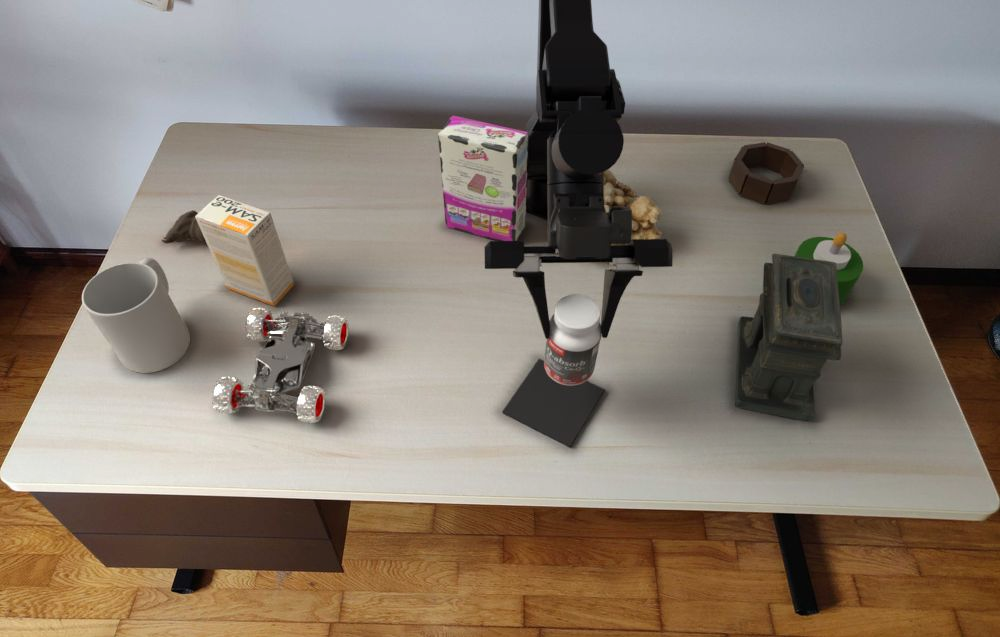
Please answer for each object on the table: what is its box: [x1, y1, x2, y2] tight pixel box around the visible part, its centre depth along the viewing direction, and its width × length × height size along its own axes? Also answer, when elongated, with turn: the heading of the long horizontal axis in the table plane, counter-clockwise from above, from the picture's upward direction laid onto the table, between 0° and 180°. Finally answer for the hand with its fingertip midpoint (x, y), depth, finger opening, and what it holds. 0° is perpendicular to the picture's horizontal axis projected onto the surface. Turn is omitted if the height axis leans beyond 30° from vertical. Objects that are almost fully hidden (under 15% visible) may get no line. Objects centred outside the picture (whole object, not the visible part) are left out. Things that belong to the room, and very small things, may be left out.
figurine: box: [161, 209, 207, 244], centre depth 99 cm, size 6×4×12 cm
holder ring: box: [727, 141, 805, 206], centre depth 108 cm, size 10×10×4 cm
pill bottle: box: [543, 293, 602, 386], centre depth 75 cm, size 6×6×10 cm
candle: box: [794, 232, 864, 307], centre depth 92 cm, size 8×8×10 cm
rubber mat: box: [502, 358, 605, 449], centre depth 83 cm, size 9×9×1 cm
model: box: [734, 253, 844, 422], centre depth 81 cm, size 14×9×15 cm, turn 168°
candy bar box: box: [437, 115, 528, 241], centre depth 96 cm, size 11×5×16 cm, turn 69°
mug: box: [81, 257, 191, 374], centre depth 85 cm, size 12×8×11 cm
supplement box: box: [195, 194, 295, 307], centre depth 90 cm, size 8×5×13 cm, turn 65°
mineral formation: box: [603, 169, 663, 246], centre depth 100 cm, size 8×13×15 cm
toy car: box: [211, 307, 350, 424], centre depth 84 cm, size 15×12×5 cm
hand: (575, 337), depth 72 cm, fingers closed on pill bottle, 5 cm apart
